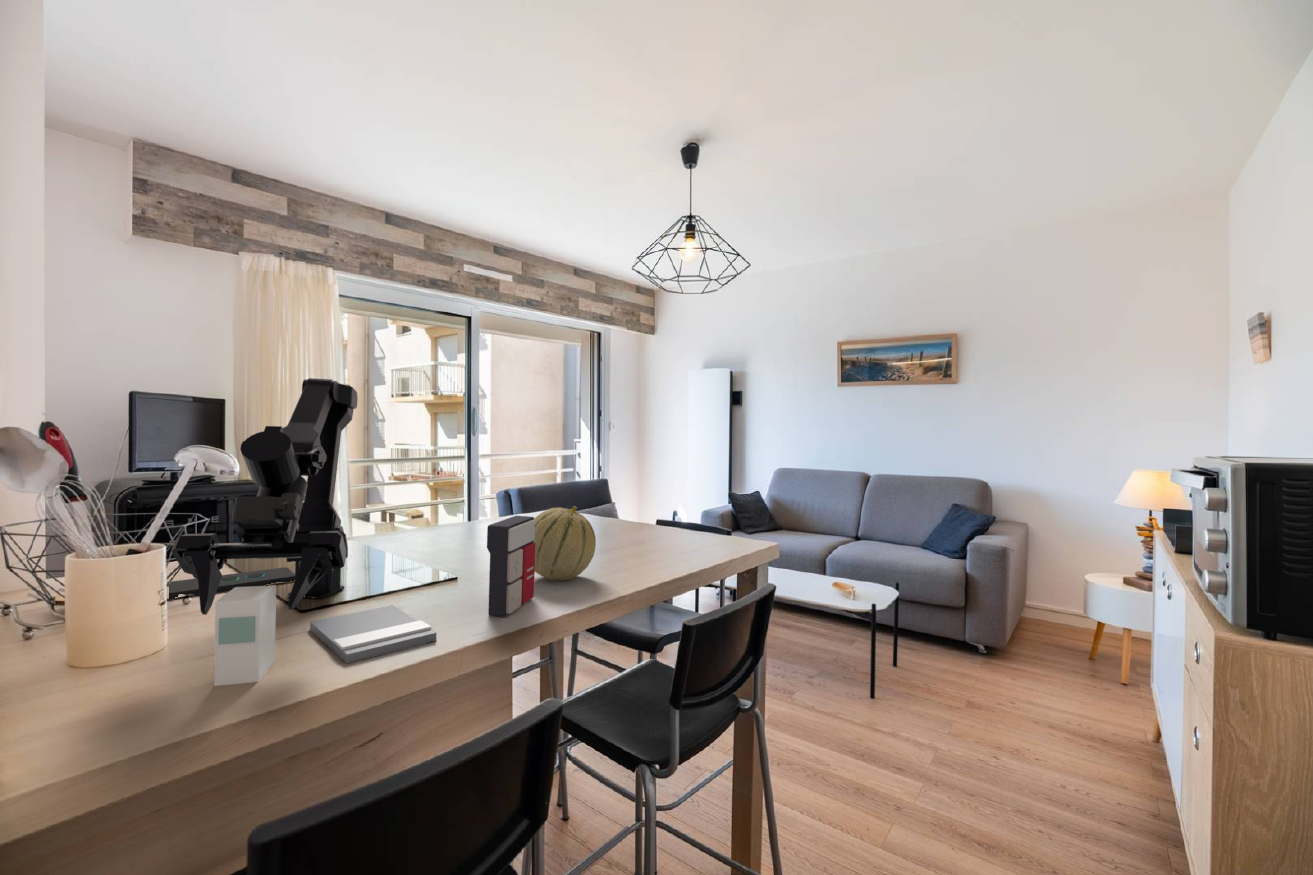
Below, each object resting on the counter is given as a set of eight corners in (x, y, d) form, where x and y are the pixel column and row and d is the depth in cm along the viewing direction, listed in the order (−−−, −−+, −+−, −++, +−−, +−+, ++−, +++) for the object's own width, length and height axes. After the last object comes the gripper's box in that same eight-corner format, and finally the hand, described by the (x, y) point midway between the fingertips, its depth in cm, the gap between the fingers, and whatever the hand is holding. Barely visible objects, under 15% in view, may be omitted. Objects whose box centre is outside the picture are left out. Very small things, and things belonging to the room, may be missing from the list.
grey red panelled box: (508, 618, 94) (511, 527, 94) (484, 616, 95) (487, 525, 94) (536, 599, 105) (538, 516, 104) (514, 596, 106) (516, 515, 105)
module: (234, 665, 74) (235, 587, 73) (274, 661, 75) (276, 585, 75) (213, 686, 68) (214, 602, 67) (257, 682, 69) (259, 600, 69)
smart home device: (296, 575, 110) (158, 593, 96) (296, 584, 110) (157, 604, 96) (287, 566, 116) (155, 582, 102) (287, 574, 116) (155, 592, 102)
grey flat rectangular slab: (346, 663, 75) (347, 651, 75) (310, 629, 86) (310, 618, 86) (436, 640, 84) (436, 629, 84) (392, 612, 95) (392, 602, 95)
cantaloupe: (511, 574, 120) (513, 502, 120) (575, 566, 128) (577, 499, 128) (538, 593, 108) (540, 513, 108) (607, 583, 116) (610, 509, 116)
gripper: (179, 471, 73) (129, 581, 63) (344, 472, 79) (322, 573, 69) (205, 522, 81) (164, 627, 71) (353, 520, 87) (335, 617, 77)
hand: (247, 610), depth 72 cm, fingers open, 9 cm apart
